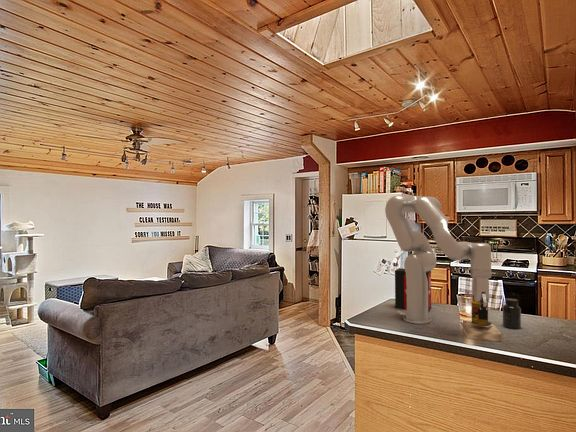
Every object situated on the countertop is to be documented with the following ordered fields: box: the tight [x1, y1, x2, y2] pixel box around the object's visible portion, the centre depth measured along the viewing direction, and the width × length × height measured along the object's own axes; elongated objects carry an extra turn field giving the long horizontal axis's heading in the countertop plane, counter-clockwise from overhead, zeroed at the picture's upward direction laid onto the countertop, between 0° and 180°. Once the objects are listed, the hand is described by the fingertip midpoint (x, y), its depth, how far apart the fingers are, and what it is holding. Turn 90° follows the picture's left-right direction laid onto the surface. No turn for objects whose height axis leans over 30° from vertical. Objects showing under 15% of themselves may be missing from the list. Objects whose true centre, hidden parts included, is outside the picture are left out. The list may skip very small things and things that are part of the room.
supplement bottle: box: [502, 298, 522, 330], centre depth 161 cm, size 7×7×12 cm
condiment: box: [468, 295, 493, 327], centre depth 151 cm, size 7×8×12 cm
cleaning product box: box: [394, 267, 432, 313], centre depth 193 cm, size 16×9×20 cm, turn 60°
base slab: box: [462, 322, 503, 342], centre depth 150 cm, size 12×12×3 cm
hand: (481, 316), depth 150 cm, fingers closed on condiment, 6 cm apart
